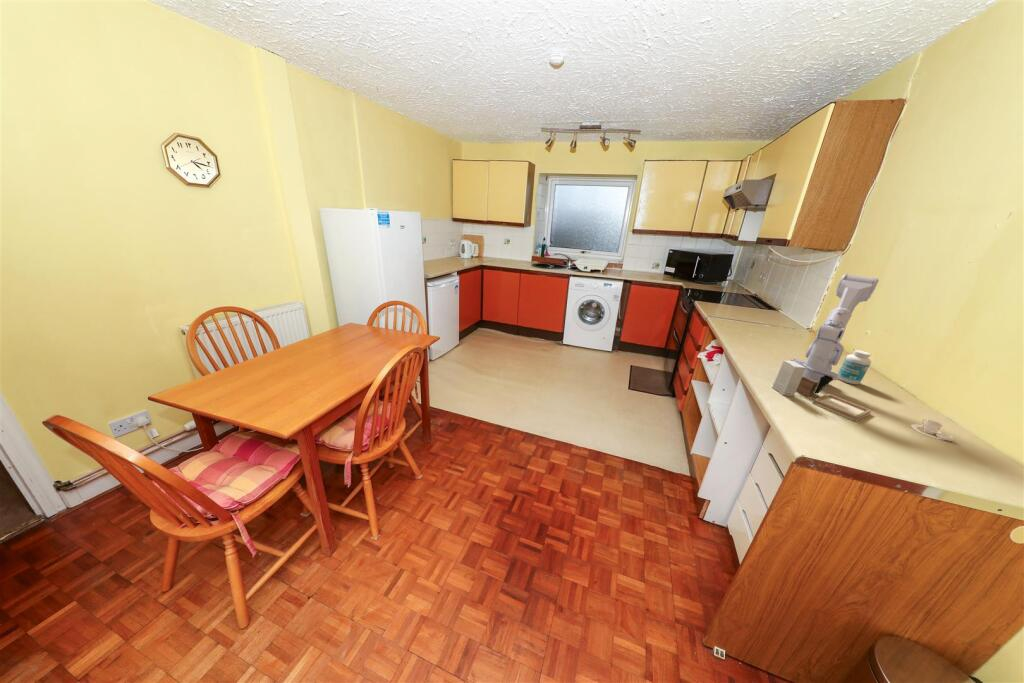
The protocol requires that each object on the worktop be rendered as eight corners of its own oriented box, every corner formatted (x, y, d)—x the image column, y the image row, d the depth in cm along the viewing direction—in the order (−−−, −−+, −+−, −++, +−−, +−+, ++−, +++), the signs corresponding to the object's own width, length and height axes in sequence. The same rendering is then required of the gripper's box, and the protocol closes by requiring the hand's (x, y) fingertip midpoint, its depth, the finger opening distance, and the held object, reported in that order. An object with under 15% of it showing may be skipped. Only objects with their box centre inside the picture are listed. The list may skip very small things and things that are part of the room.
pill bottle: (832, 377, 141) (846, 349, 136) (841, 375, 143) (855, 347, 139) (854, 386, 134) (869, 356, 129) (863, 383, 137) (878, 354, 132)
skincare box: (794, 396, 122) (807, 367, 118) (782, 395, 122) (795, 367, 118) (782, 388, 128) (794, 360, 123) (771, 387, 128) (783, 359, 123)
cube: (798, 387, 130) (803, 376, 128) (813, 393, 126) (819, 382, 124) (792, 389, 128) (797, 378, 126) (807, 395, 124) (813, 384, 122)
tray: (827, 396, 124) (828, 393, 123) (869, 413, 114) (871, 410, 114) (812, 403, 118) (814, 399, 118) (855, 421, 109) (857, 417, 108)
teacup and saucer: (958, 445, 101) (966, 434, 99) (927, 439, 102) (934, 429, 101) (932, 428, 109) (938, 418, 107) (903, 423, 110) (909, 413, 109)
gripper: (791, 350, 125) (778, 381, 130) (839, 366, 114) (823, 399, 119) (800, 347, 129) (787, 378, 134) (848, 363, 117) (831, 395, 122)
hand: (804, 388), depth 126 cm, fingers open, 7 cm apart
